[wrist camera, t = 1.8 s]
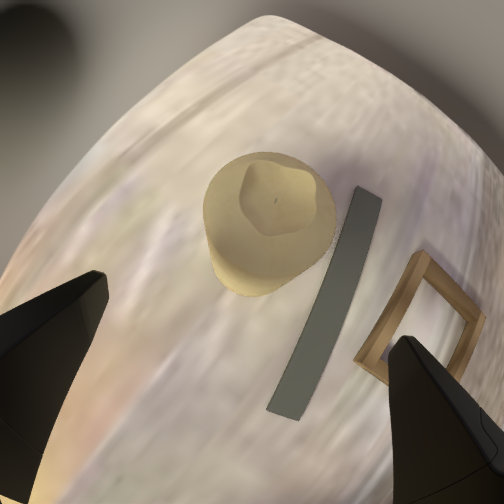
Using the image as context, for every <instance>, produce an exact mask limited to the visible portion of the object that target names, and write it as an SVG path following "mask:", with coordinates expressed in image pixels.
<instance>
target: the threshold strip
mask: <svg viewBox="0 0 504 504" xmlns="http://www.w3.org/2000/svg"><path fill="white" fill-rule="evenodd" d="M381 203H382V199H381V198H379V197H377V196H375V195H374V194H372V193H370V192H368V191H366V190H365V189H363V188H361V187H359V186H357V187H356V189H355V192H354V195H353V198H352V201H351V204H350V207H349V210H348V213H347V216H346V219H345V222H344V225H343V228H342V231H341V234H340V237H339V240H338V242H337V245H336V248H335V251H334V253H333V256H332V259H331V262H330V264H329V267H328V270H327V272H326V275H325V277H324V280H323V283H322V285H321V288H320V290H319V293H318V295H317V298H316V300H315V303H314V305H313V308H312V310H311V312H310V315H309V317H308V320H307V322H306V324H305V327H304V329H303V331H302V334H301V336H300V338H299V340H298V343H297V345H296V347H295V349H294V352H293V354H292V356H291V358H290V360H289V363H288V365H287V367H286V369H285V371H284V373H283V375H282V378H281V380H280V382H279V384H278V386H277V388H276V390H275V392H274V394H273V396H272V398H271V400H270V402H269V404H268V406H267V408H266V410H267V411H269V412H272V413H275V414H278V415H281V416H284V417H287V418H290V419H293V420H296V421H299V420H300V418H301V416H302V414H303V412H304V410H305V408H306V406H307V404H308V402H309V400H310V398H311V396H312V394H313V392H314V389H315V387H316V385H317V383H318V381H319V379H320V377H321V374H322V372H323V370H324V368H325V365H326V363H327V361H328V359H329V356H330V354H331V352H332V349H333V347H334V344H335V342H336V340H337V337H338V335H339V332H340V330H341V327H342V325H343V322H344V319H345V317H346V314H347V312H348V309H349V306H350V303H351V301H352V298H353V295H354V292H355V289H356V287H357V284H358V281H359V278H360V275H361V272H362V269H363V266H364V263H365V259H366V256H367V253H368V250H369V246H370V243H371V240H372V236H373V233H374V229H375V226H376V222H377V218H378V215H379V211H380V207H381Z"/></svg>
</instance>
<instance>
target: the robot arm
mask: <svg viewBox="0 0 504 504" xmlns="http://www.w3.org/2000/svg"><path fill="white" fill-rule="evenodd" d="M108 300H109V291H108V283H107V276H106V274H105V273H103V272H100V271H96V270H92V271H90V272H87V273H85V274H83V275H81V276H79V277H77V278H74V279H72V280H70V281H68V282H66V283H64V284H62V285H60V286H58V287H56V288H53V289H51V290H49V291H47V292H45V293H43V294H41V295H39V296H37V297H35V298H33V299H31V300H29V301H27V302H25V303H23V304H21V305H19V306H17V307H15V308H13V309H11V310H9V311H8V312H6V313H4V314H2V315H0V495H2V496H5V497H7V498H9V499H12V500H14V501H17V502H20V503H22V504H28V502H29V499H30V495H31V491H32V488H33V484H34V481H35V478H36V475H37V471H38V468H39V465H40V462H41V459H42V457H43V455H42V454H43V453H44V450H45V448H46V445H47V442H48V439H49V437H50V434H51V432H52V429H53V427H54V424H55V422H56V419H57V417H58V414H59V412H60V409H61V407H62V405H63V402H64V400H65V398H66V396H67V393H68V391H69V389H70V387H71V385H72V382H73V380H74V378H75V376H76V374H77V372H78V370H79V368H80V366H81V363H82V361H83V359H84V357H85V355H86V353H87V351H88V349H89V347H90V345H91V343H92V341H93V338H94V336H95V333H96V330H97V328H98V325H99V323H100V320H101V318H102V315H103V313H104V311H105V308H106V306H107V303H108ZM388 379H389V407H390V417H391V430H392V446H393V504H504V432H503V431H502V430H501V429H500V428H499V427H498V426H497V425H496V424H495V422H494V421H493V420H492V419H491V418H490V417H489V416H488V415H487V414H486V412H485V411H484V410H483V409H482V408H481V407H480V406H479V405H478V403H477V402H476V401H475V400H474V399H473V398H472V397H471V396H470V395H469V393H468V392H467V391H466V390H465V389H464V388H463V387H462V386H461V385H460V384H459V383H458V382H457V380H456V379H455V378H454V377H453V376H452V375H451V374H450V373H449V372H448V371H447V370H446V369H445V368H444V367H443V366H442V365H441V364H440V363H439V362H438V360H437V359H436V358H435V357H434V356H433V355H432V354H431V353H430V352H429V351H428V350H427V349H426V348H425V347H424V346H423V345H422V344H421V343H420V342H419V341H418V340H417V339H416V338H415V337H413V336H407V335H403V336H402V337H400V338H399V340H398V341H397V343H396V344H395V345H394V347H393V348H392V349H391V351H390V352H389V355H388ZM0 504H2V503H1V501H0Z"/></svg>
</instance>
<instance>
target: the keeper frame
mask: <svg viewBox="0 0 504 504" xmlns="http://www.w3.org/2000/svg"><path fill="white" fill-rule="evenodd" d="M422 278H424V279H425V280H426V281H428V282H429V283H430V284H431V285H432V286H433V287H434V288H435V289H436V290H437V291H438V292H439V293H440V294H441V295H442V296H443V297H444V298H445V299H446V300H447V301H448V302H449V303H450V304H451V305H452V306H453V307H454V309H455V310H456V311H457V312H458V313H459V314H460V315H461V316H462V317H463V318H464V319H465V320H466V321H467V324H466V326H465V329H464V331H463V334H462V336H461V338H460V341H459V343H458V345H457V348H456V350H455V352H454V354H453V356H452V358H451V361H450V363H449V365H448V367H447V369H446V370H447V371H448V372H449V373H450V374H451V375H452V376H453V377H454V378H455V379H456V380H457V382H458V383H459V382H460V380H461V378H462V375H463V373H464V371H465V369H466V367H467V365H468V362H469V360H470V358H471V356H472V353H473V351H474V348H475V346H476V344H477V341H478V338H479V336H480V333H481V331H482V328H483V325H484V322H485V319H486V316H485V315H484V314H483V313H482V311H481V310H480V309H479V308H478V307H477V306H476V304H475V303H474V302H473V301H472V300H471V299H470V298H469V296H468V295H467V294H466V293H465V292H464V291H463V290H462V289H461V288H460V287H459V285H458V284H457V283H456V282H455V281H454V280H453V279H452V278H451V277H450V276H449V275H448V274H447V273H446V272H445V271H444V270H443V269H442V268H441V267H440V266H439V265H438V264H437V263H436V262H435V261H434V260H433V259H432V258H431V257H430V256H429V255H428V254H427V253H426V252H425V251H424V250H421V251H419V252H417V253H414V254H413V255H412V257H411V259H410V261H409V263H408V265H407V267H406V270H405V272H404V274H403V276H402V278H401V279H400V281H399V283H398V285H397V287H396V289H395V291H394V293H393V295H392V297H391V298H390V300H389V302H388V304H387V306H386V307H385V309H384V311H383V313H382V315H381V316H380V318H379V320H378V321H377V323H376V325H375V326H374V328H373V330H372V331H371V333H370V335H369V336H368V338H367V340H366V341H365V343H364V344H363V346H362V347H361V349H360V351H359V352H358V354H357V355H356V357H355V358H354V360H353V361H354V362H355V363H357V364H358V365H359V366H361V367H362V368H363V369H365V370H366V371H368V372H369V373H370V374H372V375H373V376H375V377H376V378H377V379H379V380H380V381H382V382H383V383H384V384H386V385H387V386H389V379H388V364H387V363H386V362H384V361H383V360H382V359H380V357H381V355H382V353H383V352H384V350H385V348H386V347H387V345H388V343H389V342H390V340H391V338H392V336H393V335H394V333H395V331H396V329H397V327H398V326H399V324H400V322H401V320H402V318H403V316H404V314H405V312H406V311H407V309H408V307H409V305H410V303H411V301H412V299H413V297H414V295H415V293H416V290H417V288H418V286H419V284H420V282H421V280H422Z"/></svg>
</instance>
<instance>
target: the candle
mask: <svg viewBox="0 0 504 504" xmlns="http://www.w3.org/2000/svg"><path fill="white" fill-rule="evenodd" d="M203 218H204V224H205V230H206V235H207V240H208V245H209V250H210V255H211V260H212V265H213V268H214V271H215V273H216V275H217V277H218V278H219V280H220V281H221V282H222V283H223V284H224V285H225V286H226V287H227V288H228V289H230V290H231V291H233V292H235V293H237V294H240V295H244V296H251V297H256V296H263V295H266V294H269V293H271V292H273V291H275V290H277V289H278V288H280V287H281V286H283V285H284V284H286V283H287V282H289V281H290V280H292V279H293V278H295V277H296V276H298V275H299V274H301V273H302V272H304V271H305V270H307V269H308V268H309V267H311V266H312V265H314V264H315V263H316V262H317V261H318V260H319V259H320V258H321V257H322V256H323V255H324V254H325V252H326V251H327V250H328V248H329V246H330V244H331V242H332V240H333V237H334V234H335V229H336V220H337V219H336V208H335V203H334V200H333V197H332V195H331V193H330V191H329V189H328V187H327V185H326V184H325V182H324V181H323V180H322V178H321V177H320V176H319V175H318V174H317V173H316V172H315V171H314V170H313V169H312V168H310V167H309V166H308V165H306V164H305V163H303V162H301V161H299V160H297V159H295V158H293V157H290V156H287V155H284V154H280V153H273V152H258V153H252V154H247V155H244V156H241V157H239V158H237V159H235V160H233V161H231V162H230V163H228V164H227V165H225V166H224V167H223V168H222V169H221V170H220V171H219V172H218V173H217V174H216V175H215V176H214V178H213V179H212V181H211V182H210V184H209V186H208V189H207V191H206V194H205V198H204V204H203Z"/></svg>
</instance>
